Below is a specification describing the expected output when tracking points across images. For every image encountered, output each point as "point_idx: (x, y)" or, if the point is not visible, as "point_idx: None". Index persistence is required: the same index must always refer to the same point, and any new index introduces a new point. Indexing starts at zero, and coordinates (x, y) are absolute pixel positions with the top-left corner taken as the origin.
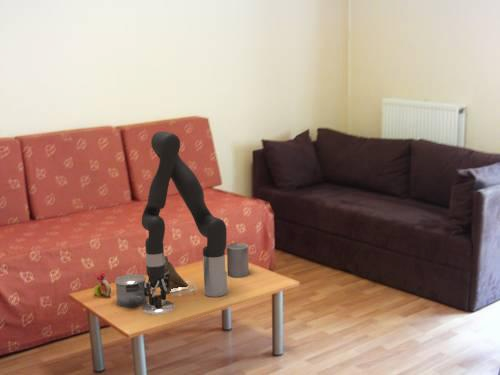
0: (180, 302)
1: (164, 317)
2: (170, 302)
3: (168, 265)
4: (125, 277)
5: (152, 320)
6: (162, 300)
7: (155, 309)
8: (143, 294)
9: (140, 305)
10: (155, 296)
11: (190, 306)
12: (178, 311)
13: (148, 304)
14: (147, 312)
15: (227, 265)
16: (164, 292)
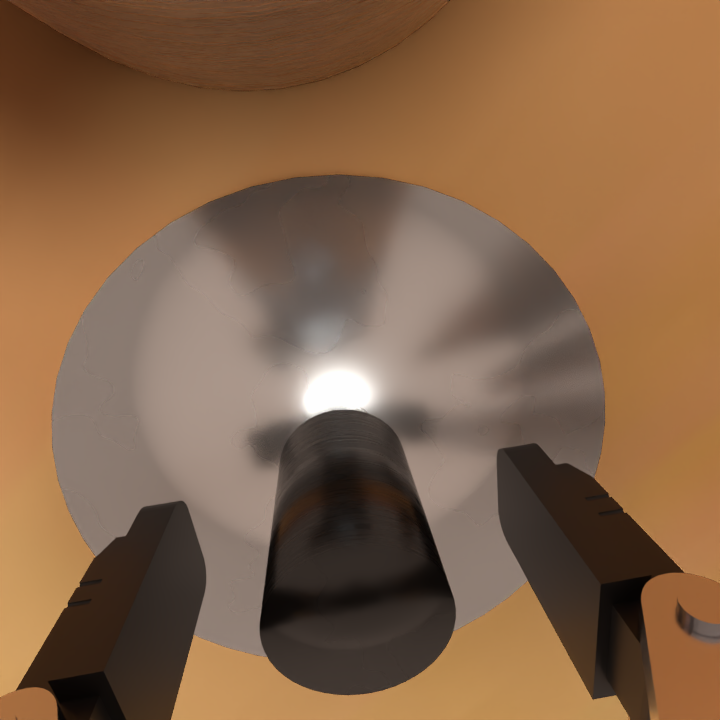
0: (674, 512)
1: (185, 708)
2: None
3: None
4: None
5: (10, 687)
6: (581, 326)
7: (224, 530)
8: (323, 1)
9: (209, 87)
10: (304, 615)
11: None
12: (422, 686)
13: (290, 270)
14: (73, 503)
15: None
16: (580, 676)
